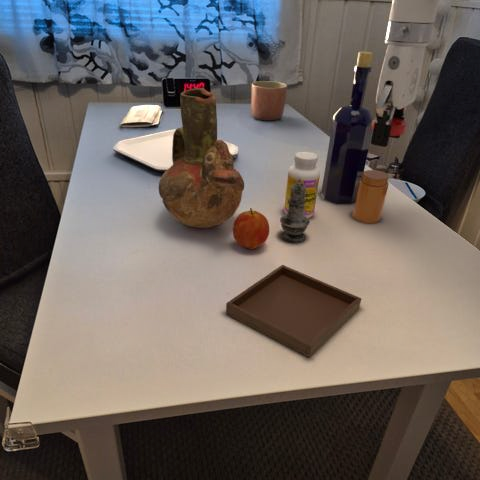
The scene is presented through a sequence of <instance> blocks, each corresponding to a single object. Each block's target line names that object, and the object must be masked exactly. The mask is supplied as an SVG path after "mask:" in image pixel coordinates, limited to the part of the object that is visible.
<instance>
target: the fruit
mask: <svg viewBox="0 0 480 480" xmlns="http://www.w3.org/2000/svg"><path fill="white" fill-rule="evenodd" d="M232 235H233V238H234V240H235V242H236V243H237V244H238V245H240V246H241V247H243V248H244V249H249V250H252V249H256V248H259V247H261V246H262V245H264V243H266V241H267V240H268V238H269V235H270V223H269V221H268V219H267V217H266V216H265V215H264V214H262V213H261V212H260V211H257V210H253V208H252V207H250V208H249V210H245V211H243V212H241V213H239V214H238V215H236V217H235V219H234V221H233V224H232Z"/></svg>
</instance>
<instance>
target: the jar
mask: <svg viewBox="0 0 480 480" xmlns="http://www.w3.org/2000/svg"><path fill="white" fill-rule="evenodd" d="M389 179H390V177H389V174H388V173H387V172H384V171H382V170H377V169H368V170H364V172H363V175H362V178H361V179H360V181H359V186H358V191H357V196H356V201H355V202H354V206H353V210H352V217H353V219H355V220H356V221H358V222H360V223H361V222H362V223H366V224H373V223H374V224H375V223H378V222H379V221H380V220H381V218H382V217H381V216H382V213H383V209H384V204H385V200H386V196H387V193H388V189H389V184H390V183H389V182H388V181H389Z"/></svg>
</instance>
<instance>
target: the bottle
mask: <svg viewBox="0 0 480 480" xmlns="http://www.w3.org/2000/svg"><path fill="white" fill-rule="evenodd" d="M373 55H374V52H371V51H358V53H357V58H356V60H357V61H356V65H354V68H353V69H354V70H353V71H354V78H353V84H352V89H351V97H350V104H347V105H346V104H345V105H344V106H341V107H340V108H339V109H338V110H337V111H336V112H335V113H334V115H333V117H332V122H331V129H330V135H329V142H328V149H327V155H326V160H325V166H324V172H323V179H322V185H321V190H320V191H321V192H320V196H321V197H322V199H323V201H327V202H330V203H333V204H336V205H352V204H355V201H356V196H357V191H358V186H359V181H360V179H361V178H362V175H363V172H364V171H365V168H366V165H367V159H368V154H369V148H370V145H371V139H372V134H373V132H372V131H371V126H372V121H373V119H374V118H375V117H374V115H373V114H372V112H371V110H370V109H369V108H368V107H366V106H364V105H363V103H364V100H365V94H366V89H367V84H368V80H369V76H370V73H371V72H372V66H371V64H372V61H373Z"/></svg>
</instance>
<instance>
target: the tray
mask: <svg viewBox="0 0 480 480" xmlns="http://www.w3.org/2000/svg"><path fill="white" fill-rule="evenodd" d="M361 302H362V297H360V296H357V295H354V294H352V293H350V292H348V291H345V290H343V289H341V288H338V287H335V286H333V285H331V284H330V283H329V284H328V283H326V282H324V281H322V280H320V279H317V278H315V277H312V276H310V275H307V274H305V273H303V272H300V271H299V270H296V269H294V268H291V267H289V266H286V265H284V264H281V265H280V266H278V267H277V268H275V269H274V270H271V272H270V273H268V274H267V275H265V276H264V277H262V278H260V279H259V280H258V281H256V282H255V283H253V284H252V285H250V286H249V287H248V288H246V289H245V290H244V291H242V292H241V293H239V294H237V295H236V296H234V297H233V298H231V299H230V300H229V301H227V302H226V303H225V304H226V305H225V314H226V315H227V316H229V317H231V318H233V319H235V320H237V321H238V322H241V323H242V324H245V326H248V327H250V328H252V329H254V330H256V331H257V332H259V333H261V334H263V335H266V336H267V337H269V338H271V339H273V340H275V341H277V342H278V343H281V344H282V345H284V346H286V347H288V348H290V349H292V350H293V351H296V352H297V353H299V354H301V355H303V356H305V357H307V358H311V357H312V355H314V354H315V353H316V352H317V351H318V350H319V349H320V348H321V347H322V346H323V345H324V344H325V343H326V342H327V341H328V340H329V339H330V338H331V337H332V336H333V335H334V334H335V333H336V332H337V331H338V330H339V329H340V328H341V327H342V326H343V325H344V324H346V322H347V321H348V320H349V319H350V318H352V316H353V315H355V314H356V312H358V310H359V309H360V306H361Z"/></svg>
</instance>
